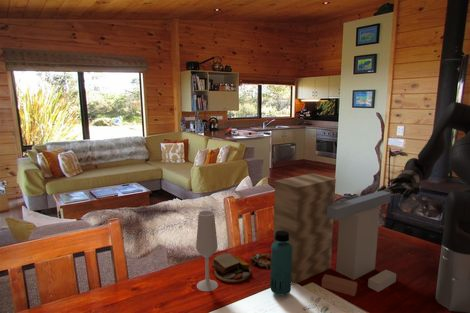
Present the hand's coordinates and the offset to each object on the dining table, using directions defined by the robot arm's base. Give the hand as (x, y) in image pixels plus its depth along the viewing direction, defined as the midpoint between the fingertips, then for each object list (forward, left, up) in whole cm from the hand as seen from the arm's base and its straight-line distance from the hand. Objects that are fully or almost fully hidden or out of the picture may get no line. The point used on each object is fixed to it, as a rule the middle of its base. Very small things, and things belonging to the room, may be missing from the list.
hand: (392, 196), depth 122 cm
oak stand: (-15, +32, -23) cm, 42 cm away
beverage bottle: (-30, +38, -24) cm, 54 cm away
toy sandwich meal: (-21, +55, -24) cm, 64 cm away
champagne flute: (-29, +61, -24) cm, 72 cm away
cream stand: (-12, +13, -23) cm, 29 cm away
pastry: (-12, +44, -24) cm, 52 cm away
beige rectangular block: (-20, +7, -24) cm, 31 cm away
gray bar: (-12, +13, -1) cm, 18 cm away
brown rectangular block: (-24, +20, -24) cm, 40 cm away
